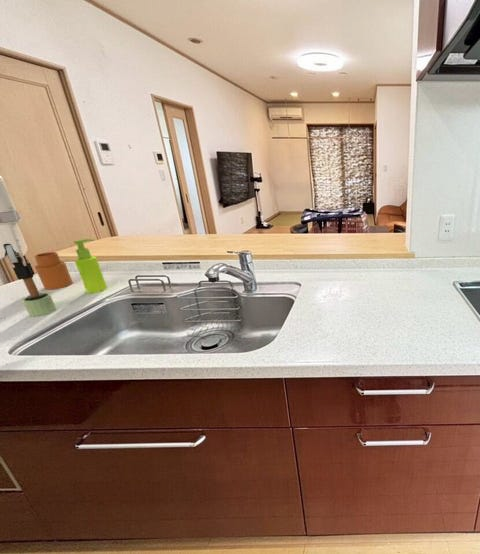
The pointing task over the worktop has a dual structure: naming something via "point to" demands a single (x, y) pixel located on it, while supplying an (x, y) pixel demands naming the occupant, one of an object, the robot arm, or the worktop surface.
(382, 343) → the worktop surface
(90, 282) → the soap dispenser
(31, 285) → the brush
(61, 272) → the orange brown jar
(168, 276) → the worktop surface
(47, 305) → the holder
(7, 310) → the worktop surface
